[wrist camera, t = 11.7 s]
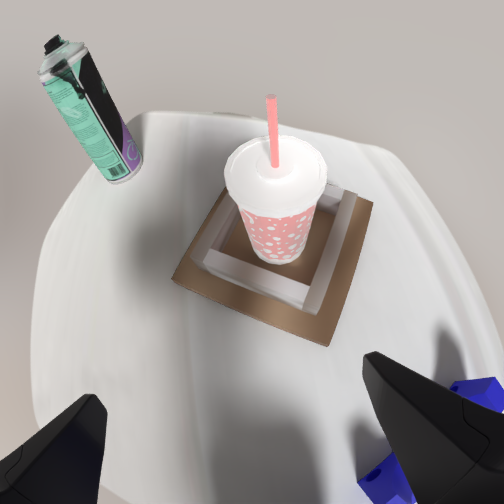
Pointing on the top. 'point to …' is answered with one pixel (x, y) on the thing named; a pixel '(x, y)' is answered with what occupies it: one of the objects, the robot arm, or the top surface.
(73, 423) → the robot arm
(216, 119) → the top surface
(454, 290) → the top surface
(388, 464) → the blue curved cradle bracket
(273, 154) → the beverage cup
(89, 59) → the spray can
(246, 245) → the cup holder board
